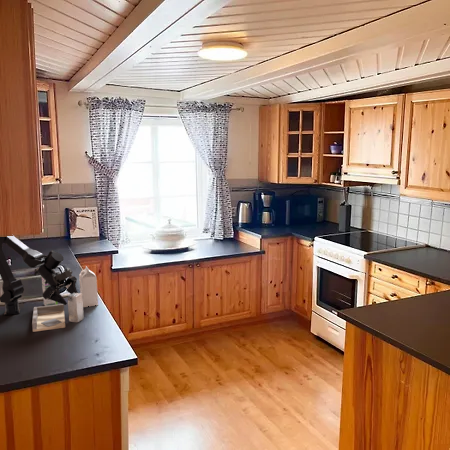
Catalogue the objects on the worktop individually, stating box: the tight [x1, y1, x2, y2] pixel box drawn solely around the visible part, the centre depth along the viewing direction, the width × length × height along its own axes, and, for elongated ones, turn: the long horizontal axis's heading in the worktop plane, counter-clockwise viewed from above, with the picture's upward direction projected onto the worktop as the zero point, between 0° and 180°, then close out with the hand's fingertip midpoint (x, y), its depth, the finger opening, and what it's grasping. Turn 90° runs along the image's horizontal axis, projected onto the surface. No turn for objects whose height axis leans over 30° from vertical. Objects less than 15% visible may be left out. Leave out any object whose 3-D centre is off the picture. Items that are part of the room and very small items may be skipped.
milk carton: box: [78, 265, 99, 308], centre depth 224 cm, size 7×7×19 cm
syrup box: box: [41, 277, 59, 306], centre depth 224 cm, size 6×6×14 cm
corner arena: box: [31, 303, 66, 332], centre depth 204 cm, size 20×13×4 cm, turn 20°
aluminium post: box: [67, 292, 85, 323], centre depth 205 cm, size 4×4×12 cm
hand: (72, 300), depth 205 cm, fingers open, 9 cm apart
